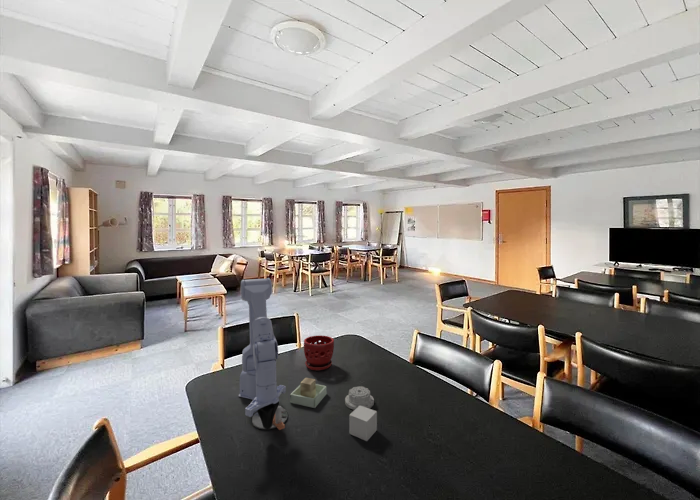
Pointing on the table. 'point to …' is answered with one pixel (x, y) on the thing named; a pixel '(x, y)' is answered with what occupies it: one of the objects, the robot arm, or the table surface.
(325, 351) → the plant pot
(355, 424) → the light grey cube
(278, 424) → the crank
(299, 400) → the tray
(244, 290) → the robot arm
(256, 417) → the dial plate
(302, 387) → the brown block
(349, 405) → the mechanical component
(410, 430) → the table surface
